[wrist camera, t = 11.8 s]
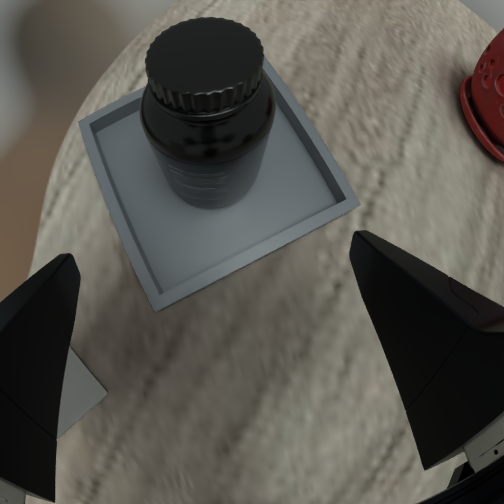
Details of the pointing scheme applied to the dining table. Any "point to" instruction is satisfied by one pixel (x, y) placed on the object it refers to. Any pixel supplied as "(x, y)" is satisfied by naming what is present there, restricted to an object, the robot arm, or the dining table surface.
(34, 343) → the robot arm
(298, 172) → the charcoal tray
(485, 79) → the plant pot
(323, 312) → the dining table surface
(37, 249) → the dining table surface
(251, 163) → the supplement bottle
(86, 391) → the milk carton
